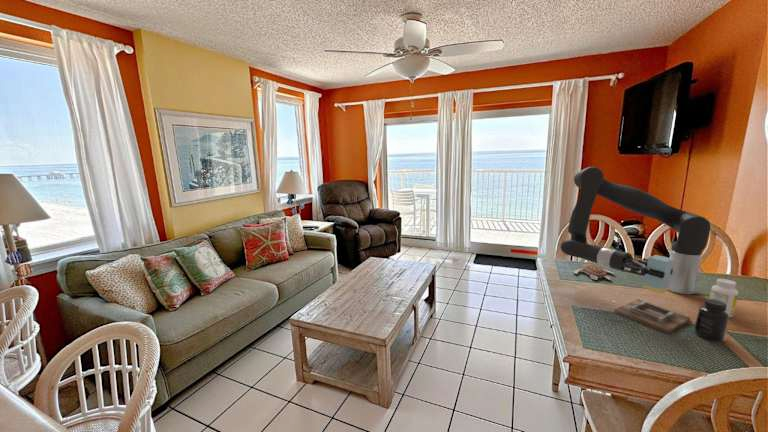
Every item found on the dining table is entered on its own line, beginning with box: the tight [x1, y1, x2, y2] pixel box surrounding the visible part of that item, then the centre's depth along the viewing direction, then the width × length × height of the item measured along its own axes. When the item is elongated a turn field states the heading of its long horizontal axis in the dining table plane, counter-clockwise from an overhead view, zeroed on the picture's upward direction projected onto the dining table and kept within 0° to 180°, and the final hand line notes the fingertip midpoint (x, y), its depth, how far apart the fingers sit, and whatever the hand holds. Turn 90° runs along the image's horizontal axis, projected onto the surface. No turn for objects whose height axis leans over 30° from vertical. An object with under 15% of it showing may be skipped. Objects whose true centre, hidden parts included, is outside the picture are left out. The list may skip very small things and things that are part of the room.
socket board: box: [614, 298, 692, 335], centre depth 112 cm, size 16×16×3 cm
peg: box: [643, 254, 673, 295], centre depth 109 cm, size 5×5×12 cm
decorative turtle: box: [572, 263, 615, 281], centre depth 149 cm, size 18×17×5 cm
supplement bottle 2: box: [693, 298, 730, 342], centre depth 99 cm, size 7×7×12 cm
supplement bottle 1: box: [708, 278, 739, 318], centre depth 112 cm, size 7×7×13 cm
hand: (667, 273), depth 106 cm, fingers closed on peg, 5 cm apart
